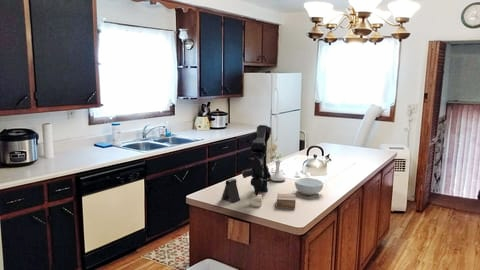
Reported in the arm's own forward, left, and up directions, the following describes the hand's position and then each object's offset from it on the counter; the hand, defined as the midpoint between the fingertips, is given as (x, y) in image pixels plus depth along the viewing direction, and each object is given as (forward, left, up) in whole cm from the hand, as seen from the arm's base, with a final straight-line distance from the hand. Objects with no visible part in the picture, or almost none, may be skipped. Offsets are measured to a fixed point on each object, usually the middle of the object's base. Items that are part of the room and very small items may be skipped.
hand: (257, 192), depth 204 cm
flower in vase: (-50, +10, -7) cm, 51 cm away
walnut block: (-2, +16, -7) cm, 18 cm away
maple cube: (0, 0, -7) cm, 7 cm away
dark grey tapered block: (-5, -15, -7) cm, 17 cm away
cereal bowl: (-26, +30, -7) cm, 40 cm away
